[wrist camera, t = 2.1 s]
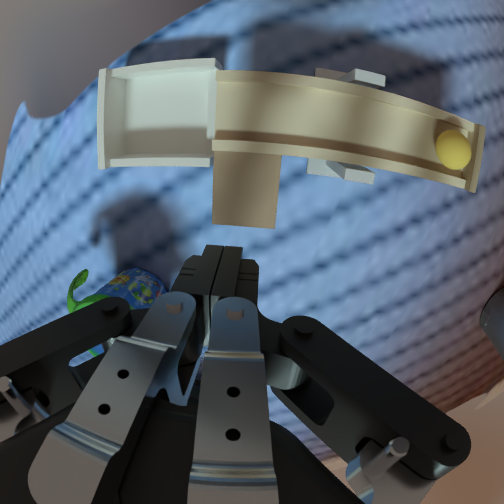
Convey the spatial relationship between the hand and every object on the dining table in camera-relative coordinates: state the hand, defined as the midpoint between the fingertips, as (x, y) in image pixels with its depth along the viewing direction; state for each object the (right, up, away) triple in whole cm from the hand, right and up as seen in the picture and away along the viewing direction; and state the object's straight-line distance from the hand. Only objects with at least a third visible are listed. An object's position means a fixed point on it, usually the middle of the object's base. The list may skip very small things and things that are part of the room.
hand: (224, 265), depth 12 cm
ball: (+17, +9, +6) cm, 20 cm away
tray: (-7, +15, +13) cm, 21 cm away
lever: (+9, +8, +9) cm, 15 cm away
